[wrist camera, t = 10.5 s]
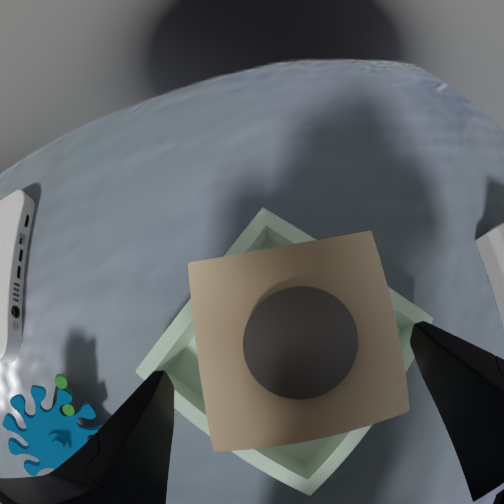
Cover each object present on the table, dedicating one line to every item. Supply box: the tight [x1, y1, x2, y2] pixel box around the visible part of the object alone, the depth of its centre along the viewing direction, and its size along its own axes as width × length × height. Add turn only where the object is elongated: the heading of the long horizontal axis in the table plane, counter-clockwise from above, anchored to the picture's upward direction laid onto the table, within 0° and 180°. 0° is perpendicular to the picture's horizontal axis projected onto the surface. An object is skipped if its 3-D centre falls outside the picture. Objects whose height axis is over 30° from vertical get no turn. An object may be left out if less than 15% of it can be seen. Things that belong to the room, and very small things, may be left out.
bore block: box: [188, 230, 410, 452], centre depth 12 cm, size 4×4×13 cm
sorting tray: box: [135, 207, 434, 496], centre depth 17 cm, size 14×14×4 cm
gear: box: [3, 374, 103, 476], centre depth 15 cm, size 11×6×10 cm
